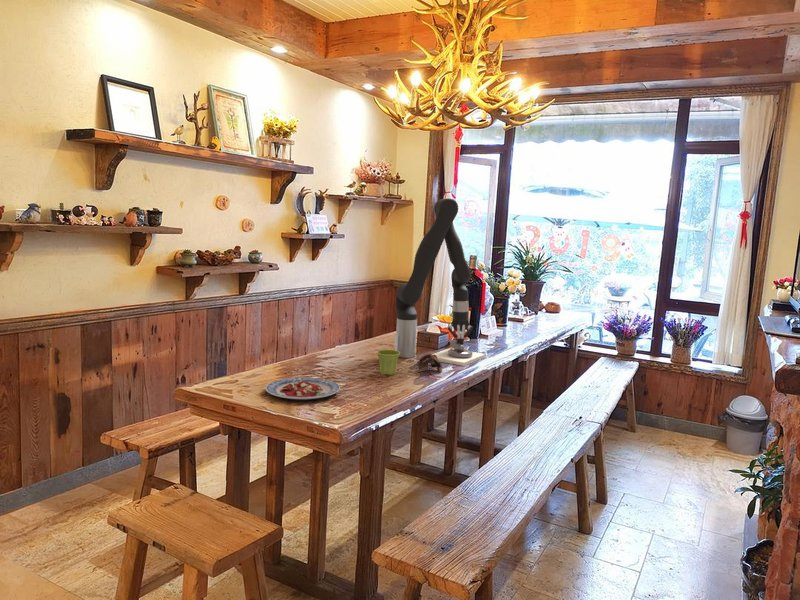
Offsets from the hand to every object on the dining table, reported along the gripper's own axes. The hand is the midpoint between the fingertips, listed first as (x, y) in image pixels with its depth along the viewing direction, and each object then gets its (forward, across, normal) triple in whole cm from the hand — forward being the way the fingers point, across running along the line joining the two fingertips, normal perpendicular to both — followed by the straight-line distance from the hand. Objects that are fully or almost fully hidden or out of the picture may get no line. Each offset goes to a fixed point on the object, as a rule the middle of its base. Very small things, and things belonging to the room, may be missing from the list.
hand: (459, 346), depth 277 cm
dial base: (+3, +3, +9) cm, 10 cm away
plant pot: (+2, +37, +38) cm, 53 cm away
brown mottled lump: (+3, +19, +33) cm, 38 cm away
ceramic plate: (+1, +69, +66) cm, 95 cm away
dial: (+2, +2, +7) cm, 7 cm away
